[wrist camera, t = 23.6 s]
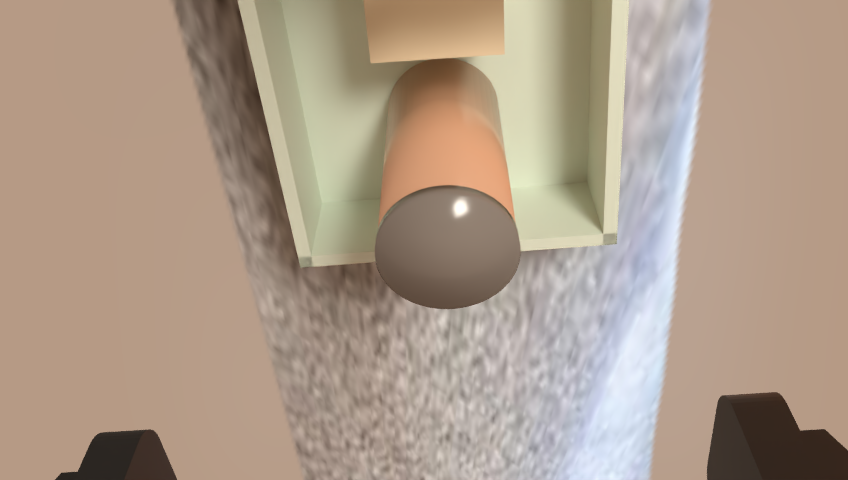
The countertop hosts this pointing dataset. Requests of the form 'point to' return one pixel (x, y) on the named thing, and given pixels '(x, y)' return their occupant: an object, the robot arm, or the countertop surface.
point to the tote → (368, 109)
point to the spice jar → (445, 189)
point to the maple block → (433, 29)
